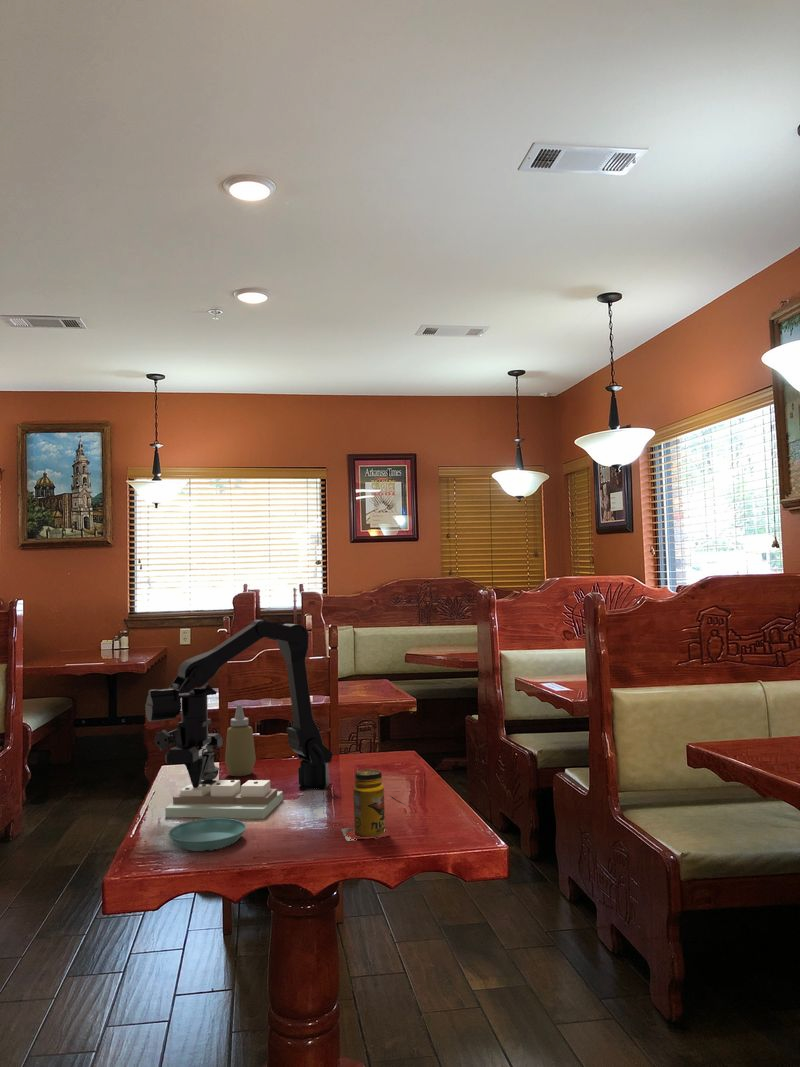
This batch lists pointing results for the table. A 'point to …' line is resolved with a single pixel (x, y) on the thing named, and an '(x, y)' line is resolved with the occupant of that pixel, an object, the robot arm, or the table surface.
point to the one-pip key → (255, 788)
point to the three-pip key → (195, 790)
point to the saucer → (207, 834)
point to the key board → (224, 806)
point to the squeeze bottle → (240, 746)
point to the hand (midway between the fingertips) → (195, 786)
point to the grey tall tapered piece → (210, 770)
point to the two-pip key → (225, 788)
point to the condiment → (368, 805)
